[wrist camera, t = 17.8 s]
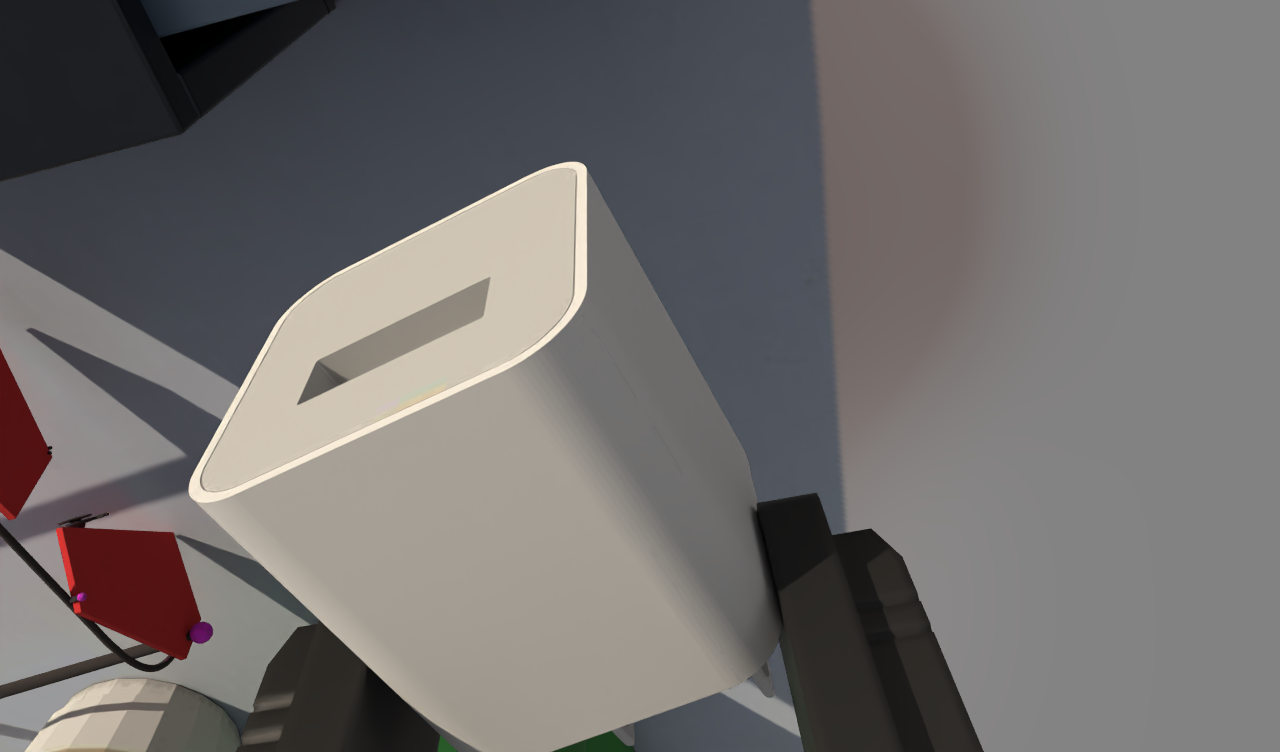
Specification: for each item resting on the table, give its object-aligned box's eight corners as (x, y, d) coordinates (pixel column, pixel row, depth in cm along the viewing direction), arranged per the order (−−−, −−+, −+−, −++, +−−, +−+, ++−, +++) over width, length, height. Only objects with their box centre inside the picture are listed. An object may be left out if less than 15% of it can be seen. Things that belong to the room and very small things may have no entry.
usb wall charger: (586, 145, 10) (587, 332, 7) (806, 545, 14) (877, 795, 10) (291, 295, 11) (163, 527, 8) (571, 635, 15) (567, 893, 11)
